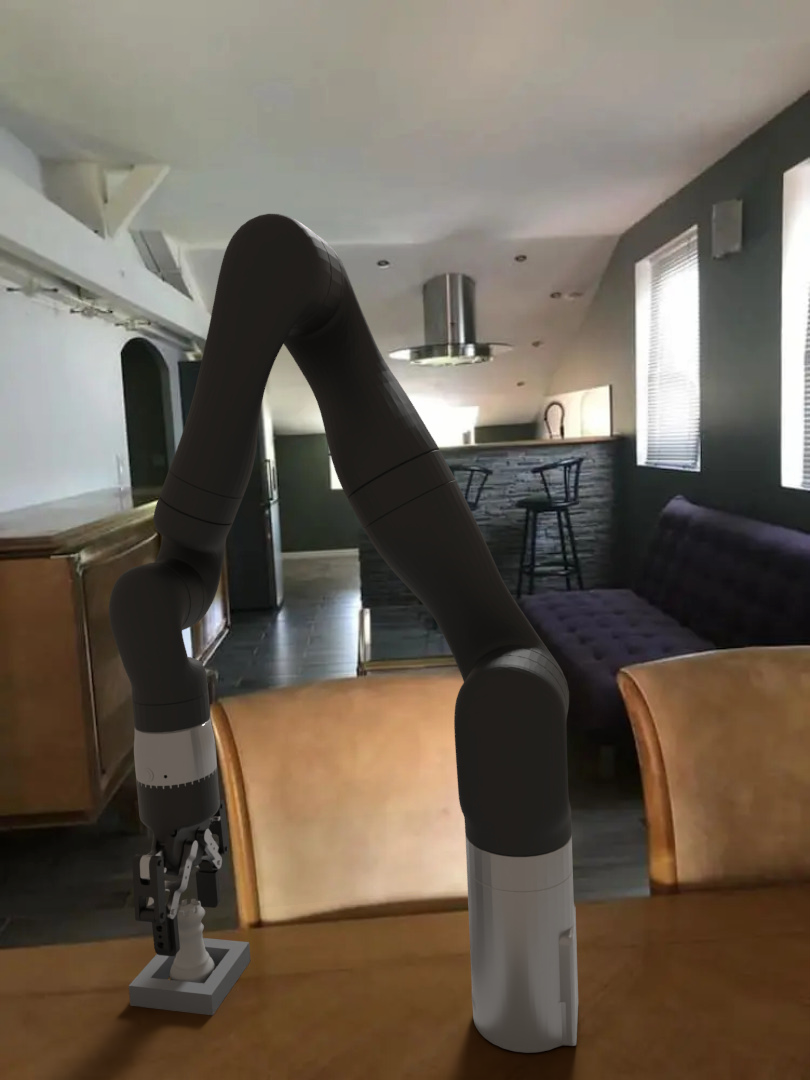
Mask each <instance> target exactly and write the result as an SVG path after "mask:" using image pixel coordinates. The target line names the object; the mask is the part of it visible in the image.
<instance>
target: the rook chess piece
mask: <svg viewBox="0 0 810 1080" xmlns="http://www.w3.org/2000/svg"><path fill="white" fill-rule="evenodd" d="M187 900H188V899H187V898H186V899H182V900H181V903H180V902H179V903H178V907H177V912H176V914H177V918H178V930H179V942H180V950H179V951H178V952H177V954H176V958H175V959H174V962H173V965H172V966H171V970H170V974H169V975H170V977H169V978H170V979H169V980H176V981H185V982H194V983H203V984H204V983H205V982H206V981H207V979H208V978H209V977H210V975H211V974H212V973H213V971H214V970H215V967H216V966H215V964H214V962H213V960H212V958H211V957H210V956H209V954H208V952H207V951H206V949H205V945H204V941H203V938H204V937H203V936H204V935H203V930H204V928H205V926H204V924H203V923H202V919H203V918H204V916H205V915H206V910H205V907H201V903H200V901H198V900H197V898H191V899H190V903H188V901H187Z"/></svg>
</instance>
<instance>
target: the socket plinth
mask: <svg viewBox="0 0 810 1080" xmlns="http://www.w3.org/2000/svg"><path fill="white" fill-rule="evenodd" d="M203 941H204V945H205V949H206V951H207V952H208V954H209V956H210V957H211V958H212V960H213V962H214V964H215V966H214V967H215V968H214V971H213V973H212V974H211V975H210V977H209V978H208V979H207V981H206V982H205V983H204V984H203V983H194V982H185V981H176V980H170V979H169V978H171V977H170V975H169V974H170V970H171V966H172V965H173V962H174V959H175V958H176V955H175V956H163V955H158V954H157V953H156V954H155V956H154V957H153V958H152V959H151V960H150V961H149V962H148V963H147V964H146V965H145V967H144V968H143V969H142V970H141V971H140V972H139V974H138V975H136V977H135V978H134V979H133V980H132V982H130V984H129V985H128V991H129V992H128V994H129V1001H130V1002H129V1005H130V1006H131V1007H132V1006H133V1007H139V1008H148V1009H157V1010H164V1011H172V1012H173V1011H174V1012H180V1013H181V1012H183V1013H190V1014H199V1015H207V1016H214V1015H215V1013H216V1011H217V1010H218V1009H219V1007H220V1006H221V1004H222V1003H223V1002H224V1000H225V999H226V997H227V996H228V994H229V993H230V992H231V990H232V989H233V987H234V986H235V984H236V982H237V981H238V980H239V978H240V977H241V975H242V974H243V972H244V971H245V970H246V968H247V967H248V965H249V964H250V962H251V948H250V942H249V941H240V940H229V939H218V938H207V937H203Z"/></svg>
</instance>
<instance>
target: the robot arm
mask: <svg viewBox="0 0 810 1080" xmlns="http://www.w3.org/2000/svg"><path fill="white" fill-rule="evenodd" d="M216 284H217V285H216V287H215V289H216V290H215V294H214V300H213V304H212V305H213V306H212V310H211V315H210V320H209V321H210V322H209V326H208V330H207V333H206V334H207V335H206V339H205V345H204V349H203V353H202V357H201V361H200V362H201V363H200V367H199V372H198V376H197V379H196V384H195V389H194V393H193V397H192V400H191V404H190V406H189V410H188V414H187V416H186V421H185V424H184V426H183V431H182V433H181V436H180V439H179V442H178V445H177V448H176V451H175V453H174V456H173V458H172V461H171V463H170V466H169V468H168V472H167V475H166V478H165V479H164V483H163V485H162V488H161V490H160V492H159V496H158V499H157V501H156V503H155V504H156V505H155V508H154V511H153V519H152V522H153V525H154V528H155V530H156V532H158V534H160V535H161V536H162V538H161V543H160V548H159V552H158V554H157V557H156V558H155V560H154V561H153V562H149V563H146V564H140V565H137V566H134V567H131V568H129V569H127V570H126V571H124V572H123V573H121V575H119V577H118V578H117V580H116V581H115V582H114V585H113V587H112V589H111V592H110V597H109V602H108V603H109V605H108V617H109V624H110V629H111V633H112V635H113V638H114V641H115V645H116V647H117V651H118V654H119V656H120V659H121V662H122V665H123V668H124V671H125V672H126V673H125V674H126V675H127V677H128V679H129V683H130V687H131V700H132V711H133V712H132V713H133V722H134V740H133V756H134V757H133V758H134V768H135V769H134V770H135V778H136V779H135V781H136V790H137V791H136V792H137V794H136V795H137V805H138V813H139V814H138V815H139V819H140V822H141V823H142V824H143V825H144V826H146V827H147V828H148V829H150V831H151V832H152V842H151V843H152V844H151V850H150V851H149V852H148V853H147V854H137V853H136V854H135V855H134V856H133V858H132V882H133V883H132V884H133V885H132V886H133V901H134V902H133V905H134V919H135V921H136V922H145V923H151V927H152V937H153V938H152V940H153V948H154V949H153V950H154V951H155V953H156V954H158V955H163V956H175V955H176V954H177V952H178V951H179V950H180V942H179V930H178V918H177V914H176V912H177V907H178V903H180V902H179V901H180V898H181V894H183V893H184V892H185V891H186V890H187V888H188V883H189V878H190V874H191V873H192V872H193V870H194V868H195V867H196V868H198V869H197V870H196V871H195V881H196V883H195V884H196V893H197V901H200V903H201V907H202V908H213V909H214V908H217V907H218V906H219V905H220V904H221V902H222V901H221V898H222V897H221V886H220V884H221V883H220V876H219V875H220V874H219V872H220V871H219V870H220V869H221V868H222V863H223V858H222V856H223V855H224V856H226V855H228V854H229V851H230V843H229V832H228V825H227V824H228V822H227V815H226V806H225V800H224V799H220V787H219V774H218V764H217V762H218V761H217V749H216V740H215V734H214V730H213V729H214V728H213V726H212V720H211V708H210V694H209V693H210V692H209V685H208V678H207V671H206V669H205V666H204V664H203V663H202V662H201V661H200V660H199V659H197V658H194V657H191V656H188V653H187V650H186V645H185V641H184V636H183V631H184V630H186V629H189V628H191V627H193V626H195V625H197V624H198V623H199V622H200V621H201V620H202V619H203V618H205V616H206V614H207V613H208V611H209V609H210V607H211V606H212V604H213V602H214V600H215V597H216V595H217V593H218V592H217V591H218V588H219V584H220V579H221V574H222V570H223V564H224V559H225V553H226V543H227V537H228V535H229V532H230V530H231V529H232V526H233V523H234V521H235V518H236V516H237V513H238V510H239V508H240V506H241V503H242V501H243V498H244V495H245V492H246V490H247V487H248V484H249V482H250V478H251V475H252V471H253V469H254V465H255V464H254V463H255V459H256V452H257V446H258V445H257V444H258V434H259V426H260V417H261V410H262V404H263V398H264V396H265V394H264V393H265V390H266V387H267V383H268V380H269V377H270V374H271V372H272V369H273V367H274V364H275V361H276V359H277V357H278V355H279V354H280V351H281V350H282V347H283V346H285V347H286V349H287V352H288V353H289V354H290V355H291V357H292V358H293V360H294V361H295V363H296V366H297V367H298V368H299V370H300V372H301V373H302V375H303V376H304V378H305V380H306V382H307V383H308V386H309V387H310V389H311V391H312V393H313V396H314V399H315V400H316V402H317V405H318V408H319V412H320V416H321V419H322V424H323V428H324V434H325V438H326V442H327V447H328V450H329V451H328V452H329V454H330V458H331V460H332V461H331V462H332V465H333V468H334V471H335V473H336V477H337V479H338V481H339V484H340V487H341V488H342V491H343V493H344V495H345V497H346V499H347V500H348V503H349V505H350V506H351V508H352V510H353V512H354V514H355V516H356V518H357V520H358V521H359V524H360V526H361V527H362V529H363V532H365V534H366V536H367V537H368V539H369V541H370V543H371V544H372V546H373V547H374V548H375V550H376V551H377V552H378V554H379V556H380V557H381V558H382V560H384V562H385V563H386V564H387V565H388V567H389V568H390V569H391V570H392V572H393V573H394V574H395V575H396V576H397V577H398V578H399V579H400V580H401V582H403V584H404V585H405V586H406V587H407V588H408V589H409V590H410V591H411V592H412V593H413V594H414V595H415V596H416V598H417V599H419V601H420V602H421V603H422V605H423V606H424V607H425V608H426V609H427V611H428V612H429V613H430V615H431V617H432V618H433V619H434V620H435V622H436V624H437V626H438V628H439V630H440V631H441V633H442V635H443V637H444V639H445V641H446V644H447V645H448V647H449V649H450V652H451V654H452V657H453V658H454V661H455V663H456V665H457V668H458V669H459V673H460V675H461V678H462V681H463V683H462V685H461V686H460V688H459V691H458V692H457V696H456V699H455V704H454V717H453V718H454V723H453V725H454V730H453V731H454V746H455V748H454V749H455V750H454V751H455V762H456V776H457V777H456V779H457V790H458V793H457V794H458V802H459V806H460V810H461V812H462V815H463V818H464V832H465V854H466V876H467V877H466V881H467V904H468V906H467V907H468V928H469V951H470V952H469V954H470V955H469V956H470V972H471V973H470V975H471V1002H472V1003H471V1004H472V1018H473V1022H474V1026H475V1027H476V1029H477V1031H478V1032H479V1034H480V1035H481V1036H482V1037H483V1038H484V1040H485V1039H486V1040H487V1041H488V1042H489V1043H491V1044H493V1045H494V1046H497V1047H499V1048H501V1049H504V1050H508V1051H512V1052H515V1053H525V1054H528V1053H529V1054H530V1053H541V1052H545V1051H546V1052H547V1051H550V1050H553V1049H555V1048H559V1047H562V1046H570V1047H574V1046H577V1040H578V1039H577V1037H578V1014H579V988H578V987H579V985H578V983H579V982H578V980H579V979H578V956H577V955H578V954H577V953H578V950H577V949H578V946H577V943H578V942H577V919H576V918H577V915H576V904H575V903H574V901H575V900H574V875H573V873H574V872H573V871H574V870H573V839H572V838H573V837H572V835H573V834H572V829H573V827H572V807H571V804H570V797H569V780H568V779H569V777H568V776H569V775H568V774H569V773H568V772H569V771H568V746H567V745H568V743H567V740H568V739H567V738H568V737H567V736H568V734H567V718H568V714H569V713H568V712H569V706H570V691H569V686H568V681H567V678H566V676H565V675H564V672H563V670H562V668H561V667H560V665H559V664H558V661H557V660H556V659H555V657H554V656H553V655H552V653H551V651H549V648H548V647H547V646H546V644H545V643H544V642H543V640H542V639H541V637H540V636H539V635H538V633H537V632H536V630H535V629H534V627H533V626H532V624H531V622H530V621H529V619H528V618H527V617H526V615H525V614H524V612H523V611H522V609H521V607H520V606H519V604H518V603H517V601H516V600H515V598H514V597H513V595H512V594H511V592H510V590H509V589H508V587H507V585H506V583H505V581H504V580H503V578H502V576H501V573H500V571H499V569H498V567H497V565H496V562H495V559H494V558H493V556H492V553H491V551H490V549H489V546H488V544H487V542H486V541H487V540H485V537H484V535H483V533H482V530H481V528H480V527H479V524H478V522H477V520H476V518H475V516H474V514H473V512H472V510H471V508H470V505H469V504H468V502H467V499H466V498H465V496H464V493H463V491H462V489H461V487H460V485H459V483H458V481H457V479H456V478H455V475H454V474H453V472H452V470H451V468H450V466H449V465H448V462H447V461H446V459H445V457H444V456H443V453H442V451H441V450H440V448H439V446H438V444H437V443H436V441H435V439H434V437H433V436H432V434H431V432H430V431H429V430H428V427H427V426H426V424H425V423H424V421H423V419H422V417H421V415H419V413H418V411H417V409H416V407H415V406H414V404H413V402H412V401H411V399H410V398H409V396H408V394H407V393H406V392H405V390H404V389H403V387H402V385H401V384H400V383H399V380H398V379H397V378H396V377H395V375H394V373H393V372H392V370H391V369H390V367H389V366H388V363H387V362H386V361H385V358H384V356H383V355H382V353H381V351H380V349H379V347H378V345H377V343H376V340H375V339H374V336H373V334H372V331H371V329H370V327H369V325H368V322H367V320H366V317H365V314H364V312H363V310H362V308H361V305H360V302H359V300H358V298H357V295H356V293H355V290H354V287H353V285H352V282H351V279H350V278H349V275H348V272H347V269H346V268H345V265H344V263H343V261H342V260H341V258H340V257H339V255H338V254H337V252H336V250H335V249H334V248H333V247H332V246H331V245H330V244H329V243H328V242H327V241H326V240H325V239H323V238H322V237H320V236H319V235H318V234H316V233H315V232H314V231H313V230H311V229H310V228H309V227H307V226H306V225H304V224H303V223H302V222H300V221H299V220H297V219H295V218H292V217H291V216H288V215H285V214H281V213H265V214H260V215H258V216H255V217H252V218H250V219H248V220H247V221H246V222H244V223H243V224H242V225H240V227H239V228H238V229H237V230H236V231H235V232H234V234H233V235H232V236H231V238H230V240H229V242H228V245H227V246H226V248H225V252H224V254H223V258H222V261H221V265H220V269H219V273H218V278H217V283H216ZM212 835H216V836H217V837H218V842H217V841H215V840H214V838H213V836H212ZM165 876H168V877H176V879H175V880H165ZM166 892H169V896H168V900H167V901H166ZM147 898H148V900H147ZM147 901H148V902H147Z"/></svg>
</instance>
